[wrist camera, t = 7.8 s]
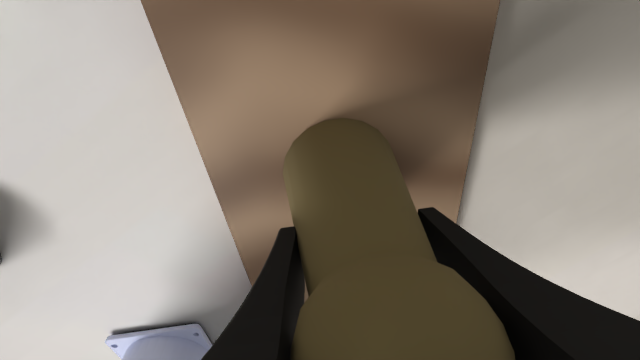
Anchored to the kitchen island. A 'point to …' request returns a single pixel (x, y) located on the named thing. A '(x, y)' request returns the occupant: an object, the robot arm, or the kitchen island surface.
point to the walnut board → (323, 92)
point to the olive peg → (374, 260)
